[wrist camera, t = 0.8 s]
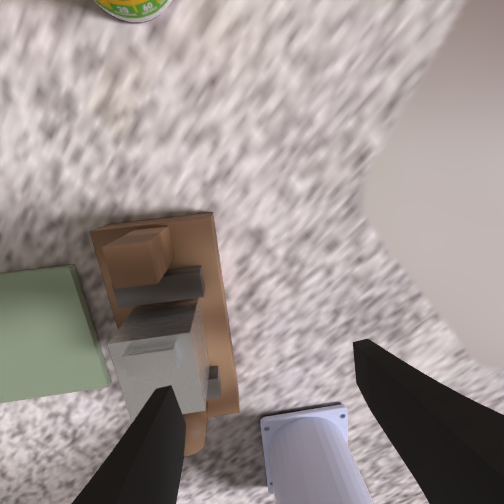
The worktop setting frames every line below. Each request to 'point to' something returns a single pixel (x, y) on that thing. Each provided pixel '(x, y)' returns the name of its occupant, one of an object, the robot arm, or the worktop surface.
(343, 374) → the worktop surface
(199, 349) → the lever cap
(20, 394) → the rubber mat
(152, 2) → the supplement bottle
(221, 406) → the plane body
